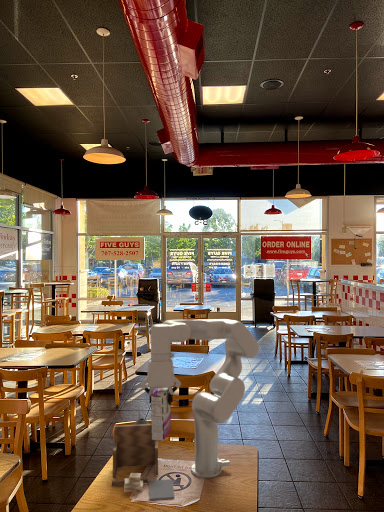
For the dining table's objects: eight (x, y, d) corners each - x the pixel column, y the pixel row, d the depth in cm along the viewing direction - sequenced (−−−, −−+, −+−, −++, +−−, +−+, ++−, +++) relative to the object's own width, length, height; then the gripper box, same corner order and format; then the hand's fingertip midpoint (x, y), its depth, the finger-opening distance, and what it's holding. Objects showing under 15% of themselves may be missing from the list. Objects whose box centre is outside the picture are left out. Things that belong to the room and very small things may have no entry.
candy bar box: (158, 428, 154) (158, 386, 155) (171, 429, 153) (171, 386, 154) (150, 440, 143) (150, 395, 144) (163, 441, 142) (163, 396, 143)
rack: (157, 463, 168) (157, 423, 168) (158, 482, 153) (158, 438, 153) (114, 466, 166) (114, 425, 166) (111, 486, 151) (111, 441, 151)
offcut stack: (142, 484, 152) (142, 472, 152) (142, 490, 147) (142, 478, 147) (124, 485, 151) (124, 473, 151) (124, 492, 147) (123, 479, 147)
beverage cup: (148, 457, 173) (148, 412, 174) (132, 457, 173) (131, 412, 174) (150, 450, 180) (150, 406, 181) (134, 450, 180) (134, 406, 181)
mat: (172, 480, 154) (172, 479, 154) (174, 498, 142) (174, 496, 142) (149, 482, 153) (149, 480, 153) (149, 500, 141) (149, 498, 141)
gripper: (182, 354, 154) (182, 400, 153) (138, 355, 152) (138, 402, 151) (184, 358, 146) (184, 407, 146) (137, 360, 144) (137, 409, 144)
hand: (161, 404), depth 149 cm, fingers closed on candy bar box, 6 cm apart
